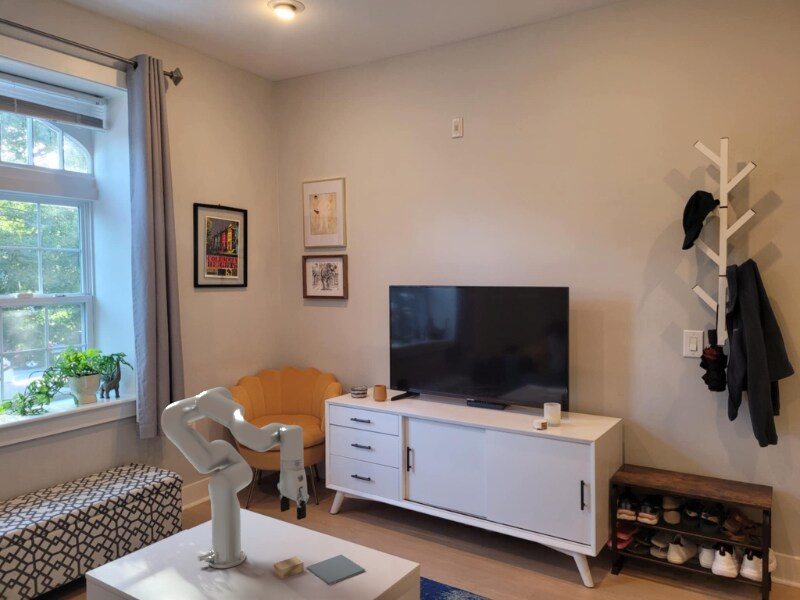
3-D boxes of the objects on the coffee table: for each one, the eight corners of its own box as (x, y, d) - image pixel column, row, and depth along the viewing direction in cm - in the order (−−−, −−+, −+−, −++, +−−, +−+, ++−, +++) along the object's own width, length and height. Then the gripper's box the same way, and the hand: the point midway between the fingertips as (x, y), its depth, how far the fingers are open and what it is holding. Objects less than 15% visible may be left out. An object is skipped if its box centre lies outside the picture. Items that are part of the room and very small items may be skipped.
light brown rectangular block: (281, 579, 188) (281, 569, 188) (273, 573, 192) (273, 563, 192) (303, 571, 193) (303, 562, 193) (295, 565, 197) (295, 556, 197)
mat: (329, 584, 184) (328, 583, 184) (306, 568, 194) (306, 566, 194) (364, 571, 192) (364, 569, 192) (341, 556, 203) (341, 554, 203)
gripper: (316, 466, 189) (317, 518, 190) (287, 455, 202) (288, 504, 202) (297, 471, 184) (298, 525, 184) (268, 460, 197) (269, 510, 197)
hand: (293, 514), depth 193 cm, fingers open, 9 cm apart
